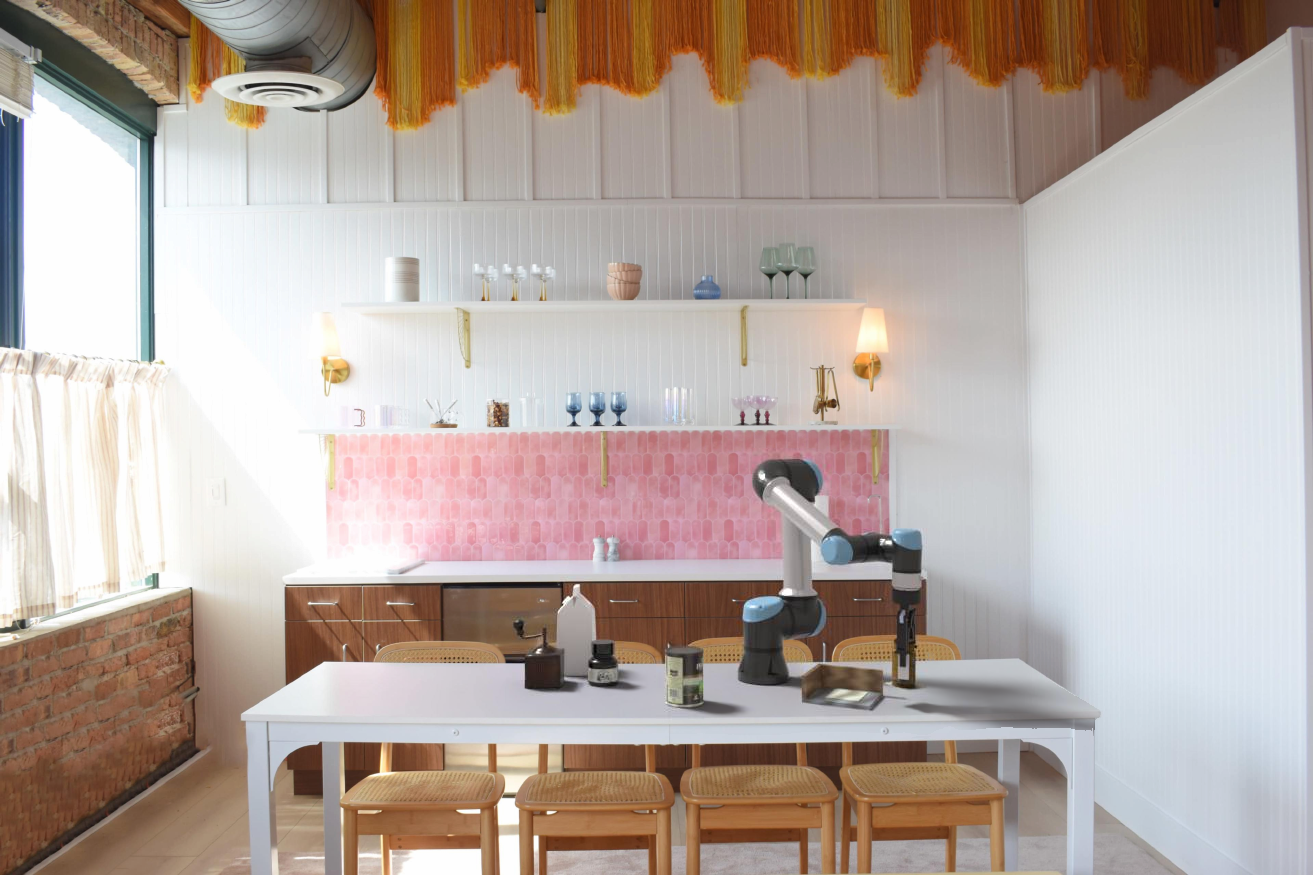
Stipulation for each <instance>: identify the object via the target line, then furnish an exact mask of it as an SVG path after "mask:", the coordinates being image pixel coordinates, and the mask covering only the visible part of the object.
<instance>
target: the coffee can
mask: <svg viewBox="0 0 1313 875" xmlns="http://www.w3.org/2000/svg"><path fill="white" fill-rule="evenodd" d="M664 653H665V657H664V658H665V664H664V665H665V667H664V668H665V702H664V703H665V704H666V705H667V706H669V707H674V708H683V709H684V708H685V709H686V708H687V709H688V708H696V707H701V706H703V704H704V703H705V702H704V649H703V648H702V647H699V646H698V647H697V646H692V645H691V646H690V645H678V646H677V645H675V646H669V647H667V648H665V649H664Z"/></svg>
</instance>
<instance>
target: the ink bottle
mask: <svg viewBox="0 0 1313 875" xmlns="http://www.w3.org/2000/svg"><path fill="white" fill-rule="evenodd" d="M615 644H616V643H615V640H613V639H596V640H594V641H592V642H591V652H592V655H593V656H592V657H591V658H590V659H589V660H588V676H587V683H588V684H589V685H590V686H595V687H610V686H615V685H616V684H618V683H619V659H618V658H617V657H615V653H616V651H615V650H616V645H615Z"/></svg>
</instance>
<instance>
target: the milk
mask: <svg viewBox="0 0 1313 875" xmlns="http://www.w3.org/2000/svg"><path fill="white" fill-rule="evenodd" d="M561 604H563V605H562V606H561V607H560V608H559V609H558V611H557V616H556V617H557V619H556V645H555V648H558V649H564V677H565V676H566V677H568V676H573V677H575V676H579V677H580V676H581V677H582V676H583V677H584V676H587V677H588V660H589V659H590V658H591V657H592V656H593V655H592V652H591V642H592V641H594V640H597V633H596V611H595V610H596V609H595V606H594V605H593V604H592V602H590V600H588V599H587V598H586V597H585V596H584V595H583V594H582V593H581V585H580V584H575V585H574V586H573V588H572V596H571V597H570V596H566V598H565V599H564V600H563V601H562V602H561Z"/></svg>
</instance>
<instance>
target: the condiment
mask: <svg viewBox="0 0 1313 875" xmlns="http://www.w3.org/2000/svg"><path fill="white" fill-rule="evenodd" d="M914 643H915V642H914V640H912V639H909V646H908V654H909V680H905V679H898V654H895V651H896V645H897V637H896V638H894V640H893V649H892V650H891V651H892V652H891V681H887V682H884V684H886V685H888V686H890V687H894V688H899V689H901V690H906V691H914V690H915V691H916V690H921V689H927V688H928V686H924V685H923V684H919V683H916V677H917V676H916V671H917V670H916V666H917V665H916V664H917V663H916V661H917V660H916V659H917V658H916V657H917V656H916V655H917V652H916V650H915V649H916V648H915V646H914V645H915V644H914ZM901 649H903V648H901Z"/></svg>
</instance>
